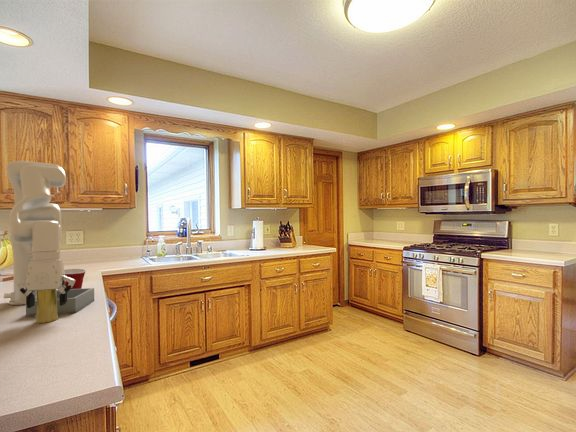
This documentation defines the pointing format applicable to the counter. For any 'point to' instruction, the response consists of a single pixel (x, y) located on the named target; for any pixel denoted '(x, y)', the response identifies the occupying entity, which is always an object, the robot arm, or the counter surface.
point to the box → (69, 301)
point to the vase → (46, 306)
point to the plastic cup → (75, 277)
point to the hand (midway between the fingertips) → (47, 305)
